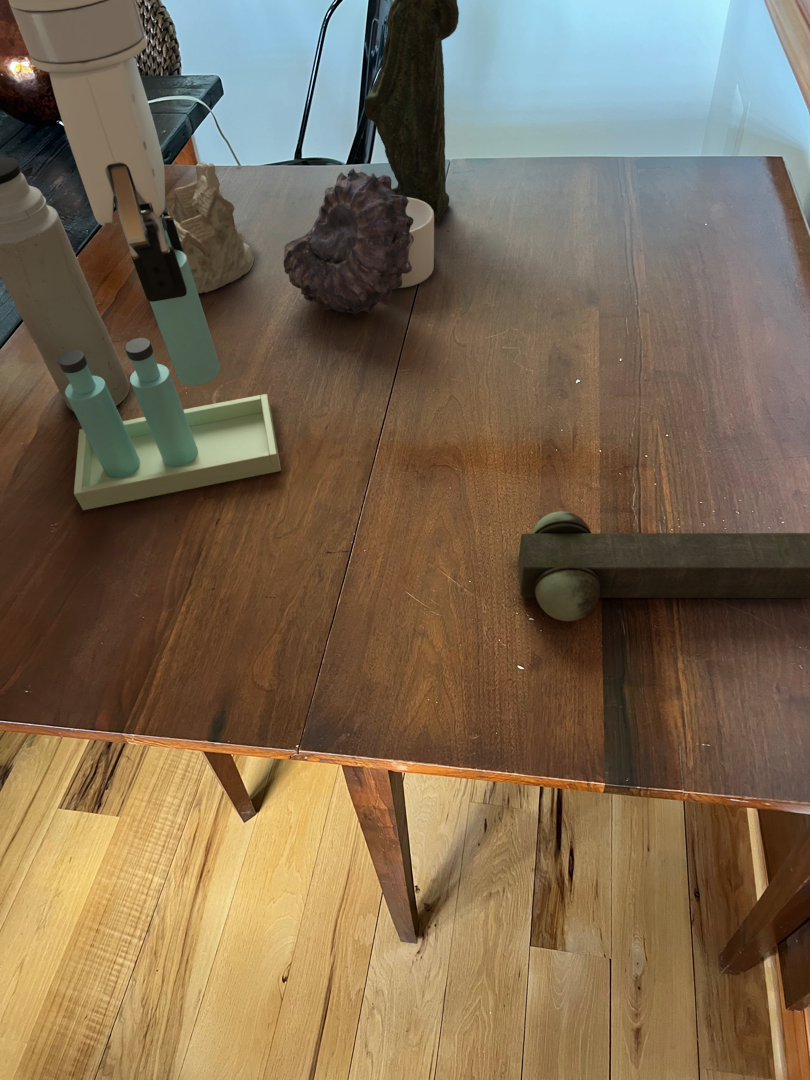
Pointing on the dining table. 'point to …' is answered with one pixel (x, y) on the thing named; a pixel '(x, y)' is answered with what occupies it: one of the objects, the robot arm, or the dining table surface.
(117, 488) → the tray
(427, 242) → the mug
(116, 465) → the tray bottle
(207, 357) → the bottle
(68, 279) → the thermos bottle
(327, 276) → the seashell
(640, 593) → the post
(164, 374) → the tray bottle
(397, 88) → the statue
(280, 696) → the dining table surface
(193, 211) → the ceramic cottage
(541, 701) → the dining table surface
